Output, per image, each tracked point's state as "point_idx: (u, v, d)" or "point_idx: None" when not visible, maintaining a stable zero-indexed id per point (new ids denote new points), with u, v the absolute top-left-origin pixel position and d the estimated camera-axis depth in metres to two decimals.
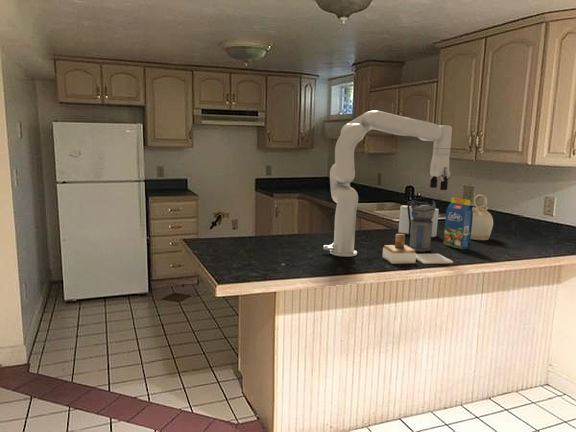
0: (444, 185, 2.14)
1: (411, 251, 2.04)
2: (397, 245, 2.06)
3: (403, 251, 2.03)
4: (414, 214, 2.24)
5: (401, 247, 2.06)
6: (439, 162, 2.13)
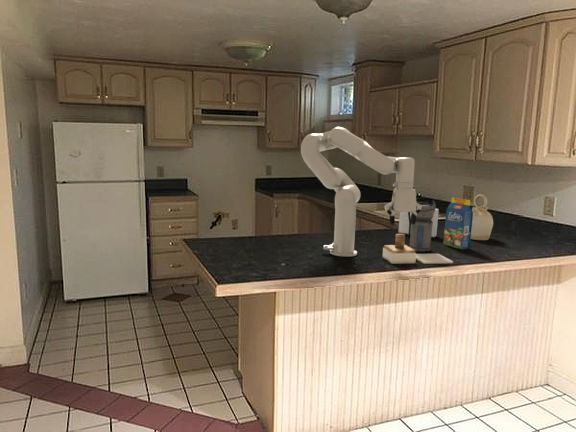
0: None
1: (411, 251, 2.04)
2: (397, 245, 2.06)
3: (403, 251, 2.03)
4: None
5: (401, 247, 2.06)
6: (414, 197, 2.02)
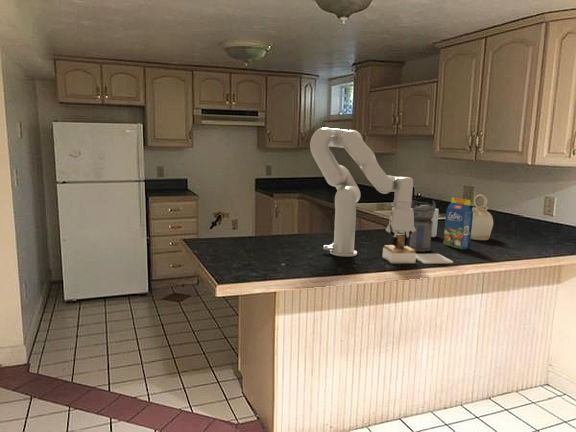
0: None
1: (411, 251, 2.04)
2: (397, 245, 2.06)
3: (403, 251, 2.03)
4: (414, 214, 2.24)
5: (401, 247, 2.06)
6: (412, 216, 2.04)
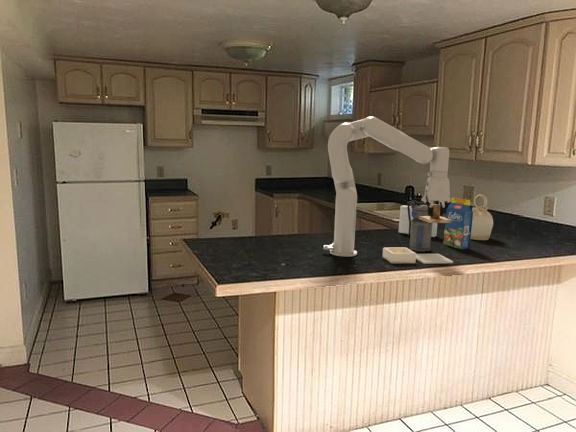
0: None
1: (447, 221, 2.04)
2: (433, 215, 2.07)
3: (439, 221, 2.04)
4: (414, 214, 2.24)
5: (437, 217, 2.07)
6: (448, 186, 2.05)
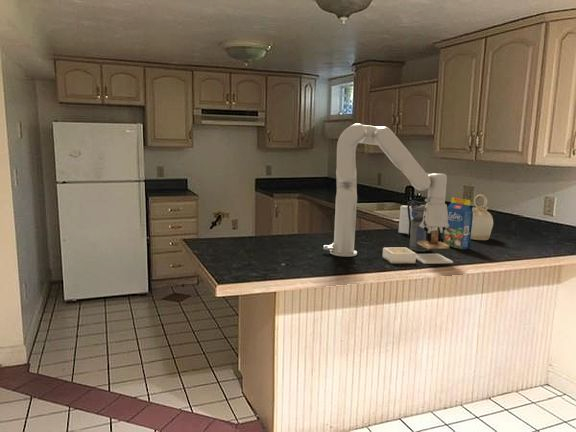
0: None
1: (445, 246, 2.06)
2: (431, 241, 2.09)
3: (437, 246, 2.06)
4: (414, 214, 2.24)
5: (435, 243, 2.09)
6: (446, 212, 2.07)
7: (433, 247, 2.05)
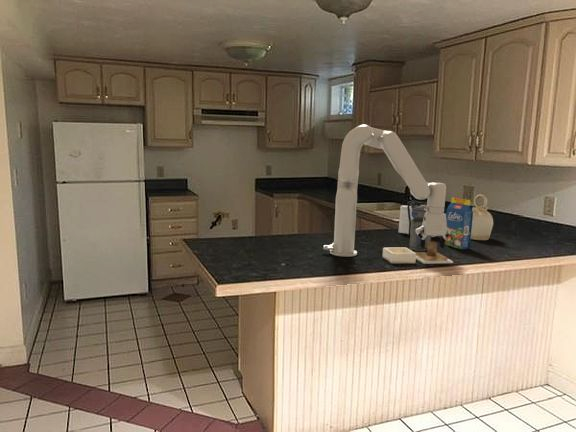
0: None
1: (443, 258, 2.07)
2: (429, 252, 2.10)
3: (436, 258, 2.07)
4: (414, 214, 2.24)
5: (433, 254, 2.10)
6: (445, 221, 2.07)
7: (431, 259, 2.06)
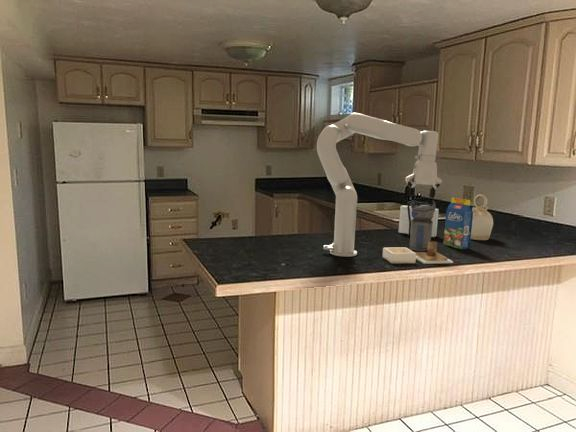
0: None
1: (443, 258, 2.07)
2: (429, 252, 2.10)
3: (436, 258, 2.07)
4: (414, 214, 2.24)
5: (433, 254, 2.10)
6: (436, 170, 2.05)
7: (431, 259, 2.06)
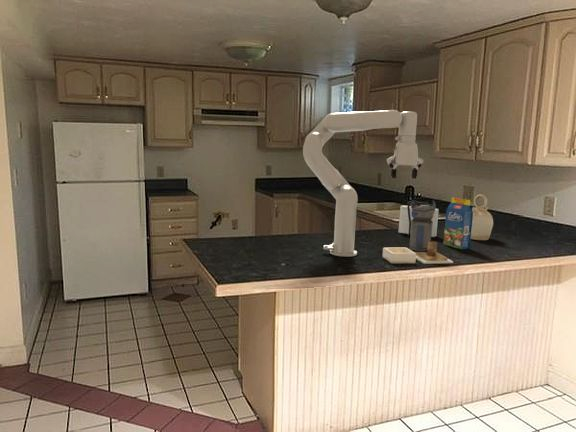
0: None
1: (443, 258, 2.07)
2: (429, 252, 2.10)
3: (436, 258, 2.07)
4: (414, 214, 2.24)
5: (433, 254, 2.10)
6: (416, 150, 2.07)
7: (431, 259, 2.06)
